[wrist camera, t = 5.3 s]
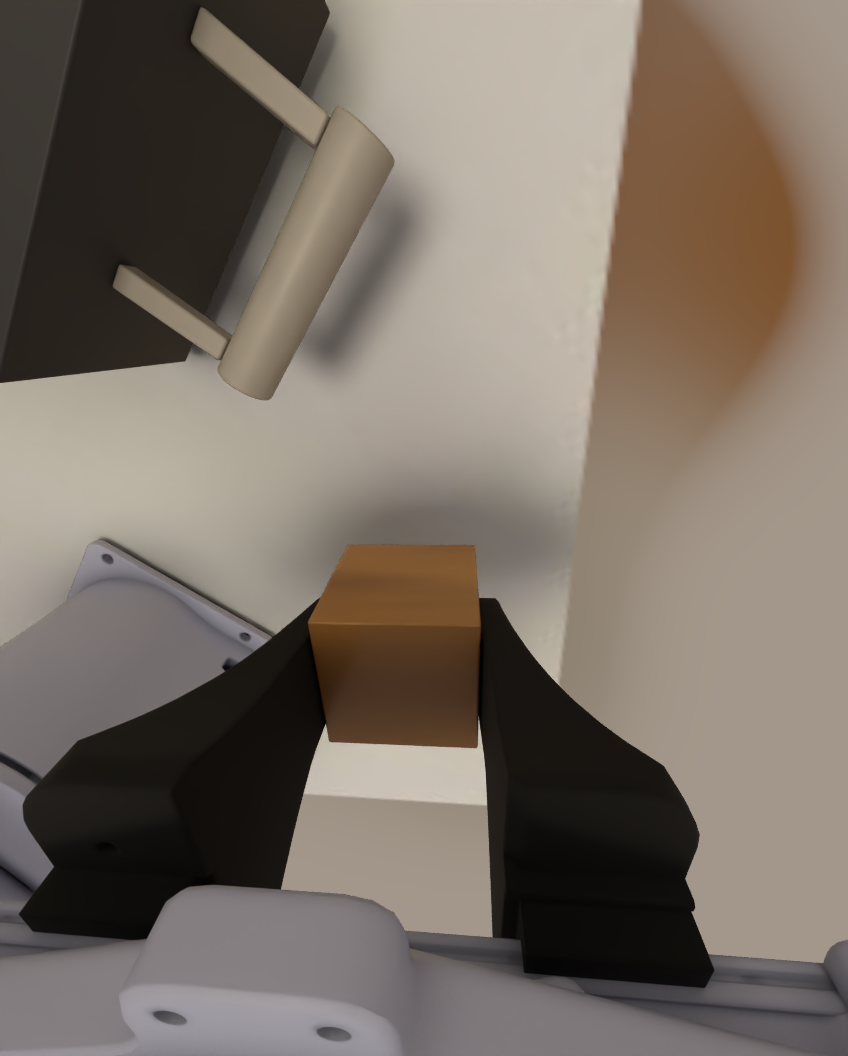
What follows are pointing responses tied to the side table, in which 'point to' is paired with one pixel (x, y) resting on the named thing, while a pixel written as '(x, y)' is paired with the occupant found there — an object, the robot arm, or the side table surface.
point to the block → (400, 646)
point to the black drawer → (164, 183)
